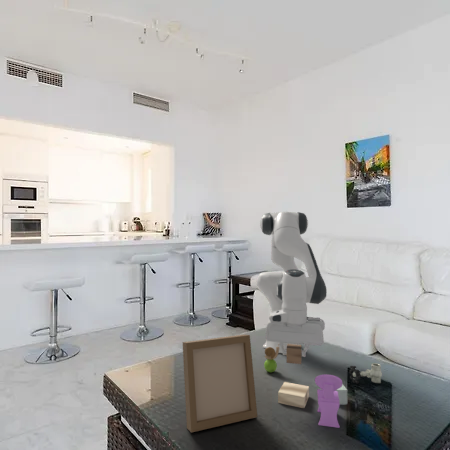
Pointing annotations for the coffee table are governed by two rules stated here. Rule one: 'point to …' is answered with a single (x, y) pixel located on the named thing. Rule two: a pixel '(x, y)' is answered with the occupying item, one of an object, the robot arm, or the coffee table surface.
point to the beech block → (293, 394)
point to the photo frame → (218, 382)
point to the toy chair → (328, 399)
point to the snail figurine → (270, 359)
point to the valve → (367, 373)
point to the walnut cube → (294, 353)
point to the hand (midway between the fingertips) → (294, 355)
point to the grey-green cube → (342, 395)
